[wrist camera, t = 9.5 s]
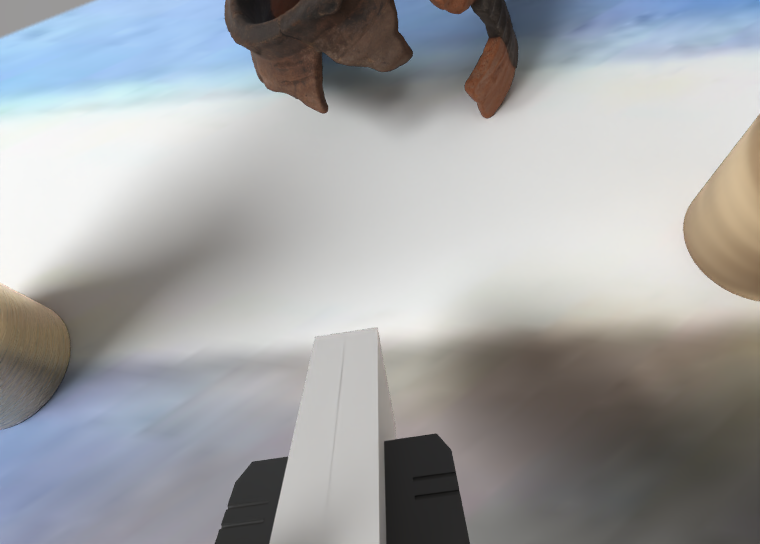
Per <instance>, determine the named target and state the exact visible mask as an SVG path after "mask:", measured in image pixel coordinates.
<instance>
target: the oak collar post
mask: <svg viewBox="0 0 760 544" xmlns="http://www.w3.org/2000/svg"><path fill="white" fill-rule="evenodd" d="M683 232H684V239H685V243H686V246H687V249H688V251H689V253H690V255H691V257H692V259H693V260H694V262H695V263H696V265H697V266H698V267H699V268H700V270H701V271H702V272H703V273H704V274H705V275H706V276H707V277H708V278H710V279H711V280H712V281H713V282H715V283H716V284H718V285H719V286H721V287H722V288H724V289H726V290H728V291H729V292H731V293H733V294H736V295H739V296H741V297H744V298H747V299H751V300H755V301H760V114H759V115H758V117H757V118H756V119H755V121H754V122H753V123H752V125H751V126H750V127H749V128H748V130H747V131H746V132H745V134H744V135H743V136H742V138H741V139H740V140H739V141H738V143H737V144H736V145H735V147H734V148H733V149H732V150H731V152H730V153H729V154H728V156H727V157H726V158H725V160H724V161H723V162H722V163H721V165H720V166H719V167H718V169H717V170H716V171H715V173H714V174H713V175H712V176H711V178H710V179H709V180H708V182H707V183H706V184H705V186H704V187H703V188H702V189H701V191H700V192H699V193H698V195H697V196H696V197H695V199H694V200H693V201H692V202H691V204H690V206H689V207H688V209H687V212H686V215H685V219H684V226H683Z"/></svg>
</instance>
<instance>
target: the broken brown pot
mask: <svg viewBox="0 0 760 544" xmlns="http://www.w3.org/2000/svg"><path fill="white" fill-rule="evenodd" d="M430 1H431V2H432V3H433V4H434V5H435V6H436V7H438V8H440V9H442V10H447V11H448V12H450V13H453V14H461V13H462V12H464V11H465V10H467V9H468V8H469V6H470V5H471V7H472V9H473V11H474V12H475V13H476V14H477V15H478V16H479V17H480V19H481V20H482V21H483V22H484V23H485V25H486V30H487V33H488V36H489V39H488V41H487V43H486V45H485V48H484V51H483V53H482V55H481V57H480V59H479V61H478V63H477V65H476V66H475V68H474V70H473V72H472V73H471V75H470V76H469V78H468V79H467V81H466V83H465V91H466V92H467V93H468V94H469V96H470V97H471V98H472V99H473V100H474V101H476V102H477V105H478V108H479V110H480V112H481V115H482V116H483V117H485V118H490V117H491V116H493V115H494V113H495V112H496V110H497V109H498V108H499V107H500V105H501V104H502V102H503V101H504V99H505V97H506V94H507V93H508V91H509V89H510V86H511V83H512V80H513V78H514V75H515V69H516V68H517V63H518V43H517V39H516V35H515V32H514V30H513V26H512V23H511V18H510V15H509V12H508V10H507V7H506V4H505V1H504V0H430ZM225 22H226V25H227V29H228V31H229V32H230V33H231V37H232V38H233V39H234V41H235V42H236V43H237V44H239V45H242V46H243V47H245V48H247V49H249V50H250V51H251V55H252V60H253V63H254V67H255V69H256V72H257V75H258V77H259V79H260V81H261V82H262V83H264V84H265V86H266V87H267V89H269V90H272V91H274V92H282V93H287V94H289V95H291V96H293V97H295V98H296V99H299V100H300V101H302V102H303V103H304V104H305V105H307V106H308V107H310V108H312V109H314V110H316V111H318V112H320V113H326V112H327V111H328V105H327V103H326V100H325V97H324V92H323V85H322V82H323V74H322V69H323V66H322V52H323V53H325V54H326V55H328V56H329V57H330V58H331V59H332V60H333V61H335V62H336V63H339V64H343V65H347V66H355V67H370V68H372V69H375V70H377V71H380V72H388V71H391V70H394V69H396V68H398V67H399V66H401V65H403V64H405V63H407V62H408V61H409V60H410V59H411V58H412V56H413V51H412V49H411V48H410V46H409V45H408V44H407V42H406V41H405V39H404V37H403V36H402V35H401V34H400V33H399V32H398V18H397V11H396V7H395V3H394V0H226V1H225Z"/></svg>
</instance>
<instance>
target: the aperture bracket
mask: <svg viewBox="0 0 760 544" xmlns="http://www.w3.org/2000/svg"><path fill="white" fill-rule="evenodd" d="M69 357H70V338H69V333H68V330H67V328H66V326H65V324H64V322H63V320H62V319H61V318H60V317H59V315H57V314H56V313H55V312H54V311H52V310H51V309H49V308H47V307H46V306H44V305H42V304H40V303H38V302H36V301H34V300H32V299H30V298H28V297H26V296H25V295H23V294H21V293H19V292H17V291H15V290H13V289H11V288H9V287H7V286H6V285H4V284H2V283H0V430H2V429H6V428H9V427H12V426H14V425H16V424H19V423H21V422H22V421H24V420H26V419H27V418H29V417H30V416H32V415H33V414H35V413H36V412H37V411H38V410H39V409H40V408H41V407H43V406H44V405H45V404H46V402H47V401H48V400H49V399H50V398H51V397H52V395H53V394H54V393H55V391H56V390H57V388H58V386H59V385H60V383H61V381H62V379H63V377H64V375H65V372H66V369H67V366H68V362H69Z"/></svg>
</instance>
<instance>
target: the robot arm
mask: <svg viewBox="0 0 760 544" xmlns="http://www.w3.org/2000/svg"><path fill="white" fill-rule="evenodd" d="M221 525H222V528H221V529H220V530H219V533H218V536H217V539H216V542H215V544H470V542H469V537H468V532H467V527H466V522H465V517H464V512H463V507H462V501H461V496H460V492H459V486H458V481H457V476H456V471H455V466H454V461H453V456H452V451H451V449H450V448H449V447H448V446H447V445H446V444H445V442H444V441H443V440H442V439H441V438H440V437H439V436H438V435H437V434H430V435H423V436H416V437H409V438H402V439H396V427H395V419H394V414H393V408H392V403H391V398H390V392H389V387H388V382H387V376H386V371H385V365H384V360H383V355H382V349H381V344H380V338H379V333H378V328H377V327H376V328H369V329H363V330H356V331H350V332H343V333H337V334H330V335H324V336H317V337H315V340H314V344H313V349H312V353H311V358H310V362H309V367H308V371H307V376H306V380H305V385H304V389H303V394H302V398H301V403H300V407H299V412H298V416H297V421H296V425H295V430H294V434H293V439H292V443H291V448H290V452H289V457H283V458H276V459H269V460H262V461H255V462H252V463H251V464H250V465H249V467H248V468H247V469H246V470H245V471H244V473H243V474H242V475H241V476H240V478H239V479H238V480H237V481H236V482H235V485H234V488H233V491H232V494H231V497H230V500H229V503H228V510H226V512H225V515H224V518H223V521H222V524H221Z"/></svg>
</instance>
